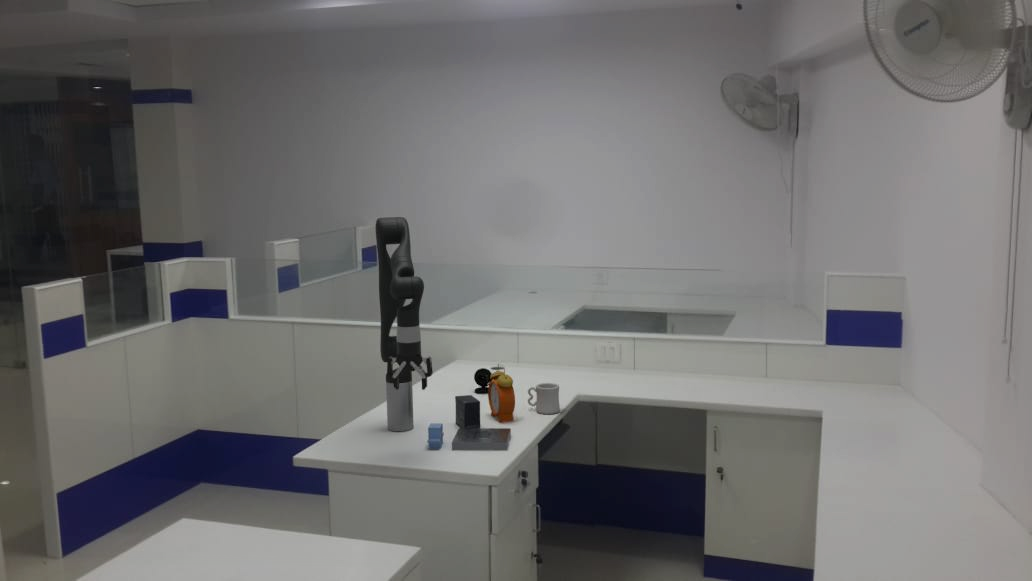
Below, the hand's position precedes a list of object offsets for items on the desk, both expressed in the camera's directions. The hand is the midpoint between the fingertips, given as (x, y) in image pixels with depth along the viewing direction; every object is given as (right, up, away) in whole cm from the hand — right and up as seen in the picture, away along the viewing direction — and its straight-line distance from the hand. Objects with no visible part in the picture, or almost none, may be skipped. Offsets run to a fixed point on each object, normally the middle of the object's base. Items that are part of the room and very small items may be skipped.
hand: (410, 389), depth 275 cm
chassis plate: (+22, -19, +14) cm, 33 cm away
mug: (+44, -14, +51) cm, 69 cm away
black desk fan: (+20, -11, +82) cm, 85 cm away
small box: (+17, -17, +32) cm, 40 cm away
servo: (+7, -20, +11) cm, 24 cm away
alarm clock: (+28, -16, +42) cm, 53 cm away
